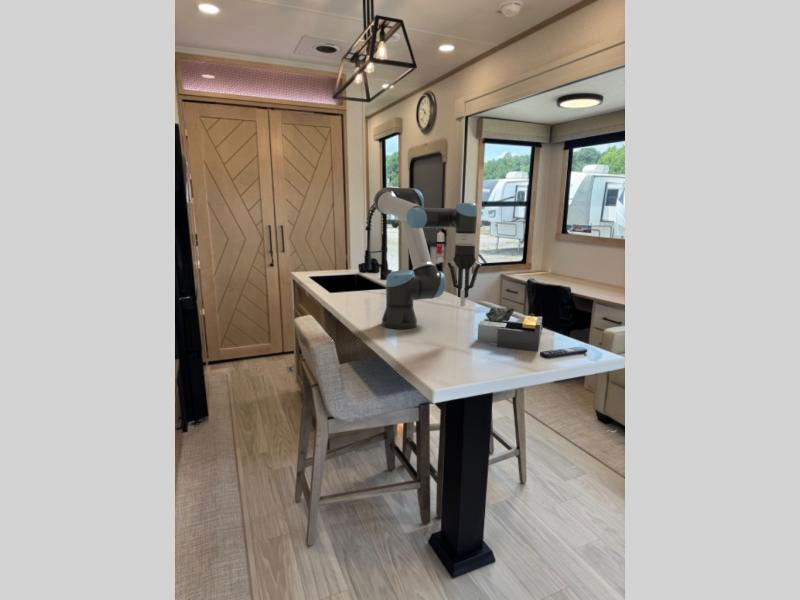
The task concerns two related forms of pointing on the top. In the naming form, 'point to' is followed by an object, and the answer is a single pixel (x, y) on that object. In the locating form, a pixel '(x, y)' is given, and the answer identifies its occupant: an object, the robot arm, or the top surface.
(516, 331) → the dark grey open box
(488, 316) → the rock
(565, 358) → the top surface
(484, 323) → the block
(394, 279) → the robot arm
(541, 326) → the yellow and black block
